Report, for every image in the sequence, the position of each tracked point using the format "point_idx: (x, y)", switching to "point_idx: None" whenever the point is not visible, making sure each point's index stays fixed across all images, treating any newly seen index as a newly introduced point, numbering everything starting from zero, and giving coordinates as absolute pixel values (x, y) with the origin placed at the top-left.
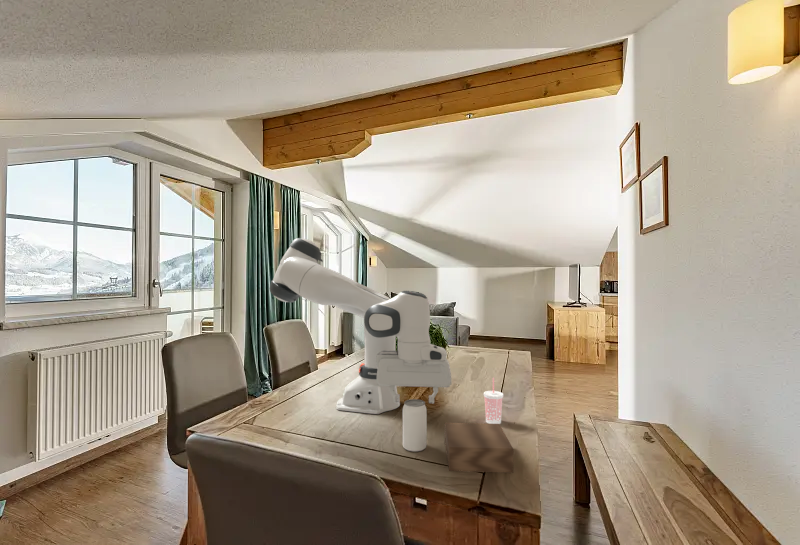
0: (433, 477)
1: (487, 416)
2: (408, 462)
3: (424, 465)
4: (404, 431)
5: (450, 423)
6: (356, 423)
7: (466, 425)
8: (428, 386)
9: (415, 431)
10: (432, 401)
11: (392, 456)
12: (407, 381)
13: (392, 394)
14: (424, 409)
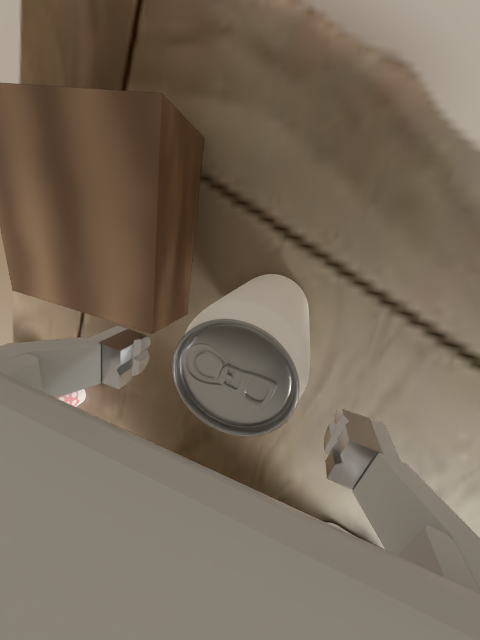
0: (259, 90)
1: (69, 396)
2: (315, 208)
3: (269, 181)
4: (306, 311)
5: (135, 323)
6: None
7: (91, 296)
8: (15, 381)
9: (266, 282)
10: (120, 331)
11: (359, 258)
12: (243, 590)
13: (421, 479)
14: (192, 322)
